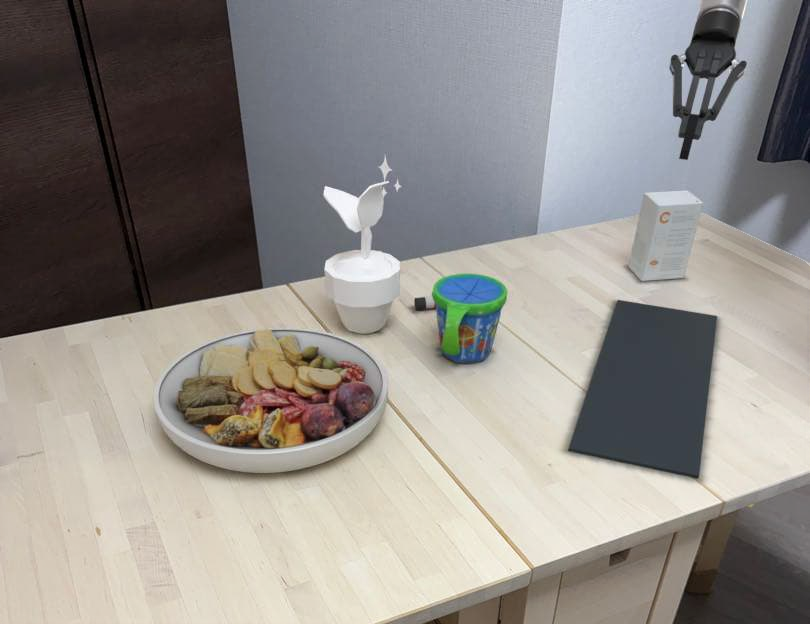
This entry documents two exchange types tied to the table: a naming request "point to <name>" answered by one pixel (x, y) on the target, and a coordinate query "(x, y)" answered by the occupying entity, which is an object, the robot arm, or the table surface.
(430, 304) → the marker
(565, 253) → the table surface
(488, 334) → the snack cup
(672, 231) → the small box
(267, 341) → the bowl
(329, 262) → the potted plant
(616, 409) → the slate mat
